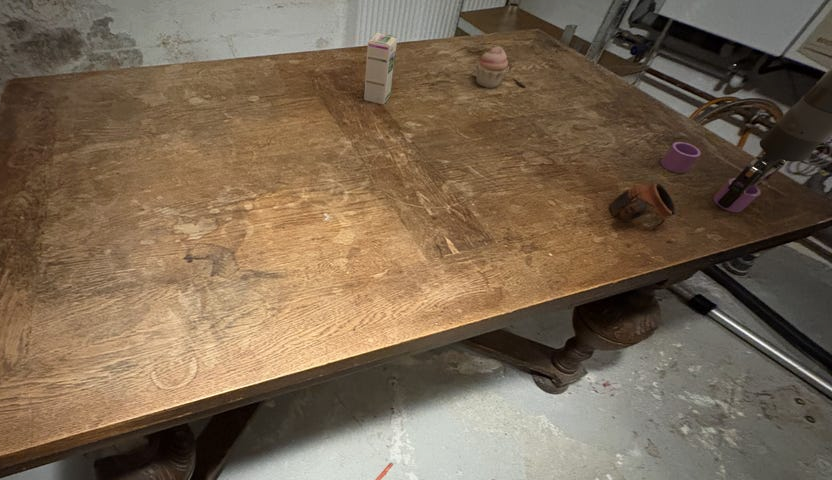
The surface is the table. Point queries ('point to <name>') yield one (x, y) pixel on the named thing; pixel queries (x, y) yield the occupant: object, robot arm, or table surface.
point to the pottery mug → (644, 203)
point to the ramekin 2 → (742, 200)
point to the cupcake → (492, 68)
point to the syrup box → (379, 68)
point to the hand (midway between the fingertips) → (730, 200)
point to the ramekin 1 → (680, 157)
